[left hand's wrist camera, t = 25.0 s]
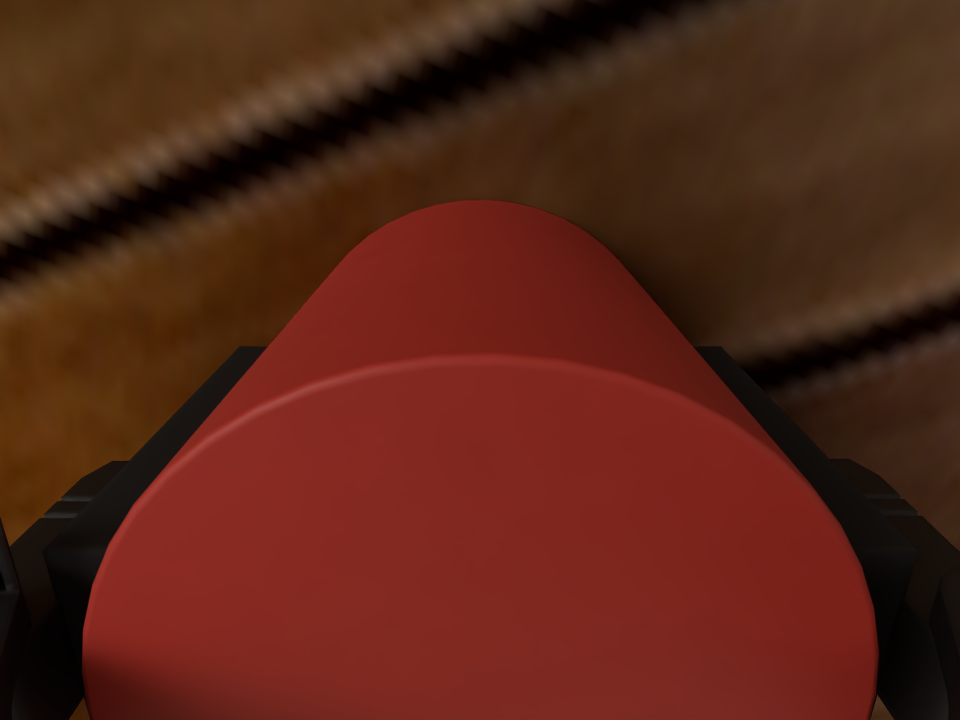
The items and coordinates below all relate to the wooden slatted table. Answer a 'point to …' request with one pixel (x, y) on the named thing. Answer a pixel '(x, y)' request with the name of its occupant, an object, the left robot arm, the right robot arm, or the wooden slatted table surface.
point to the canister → (480, 513)
